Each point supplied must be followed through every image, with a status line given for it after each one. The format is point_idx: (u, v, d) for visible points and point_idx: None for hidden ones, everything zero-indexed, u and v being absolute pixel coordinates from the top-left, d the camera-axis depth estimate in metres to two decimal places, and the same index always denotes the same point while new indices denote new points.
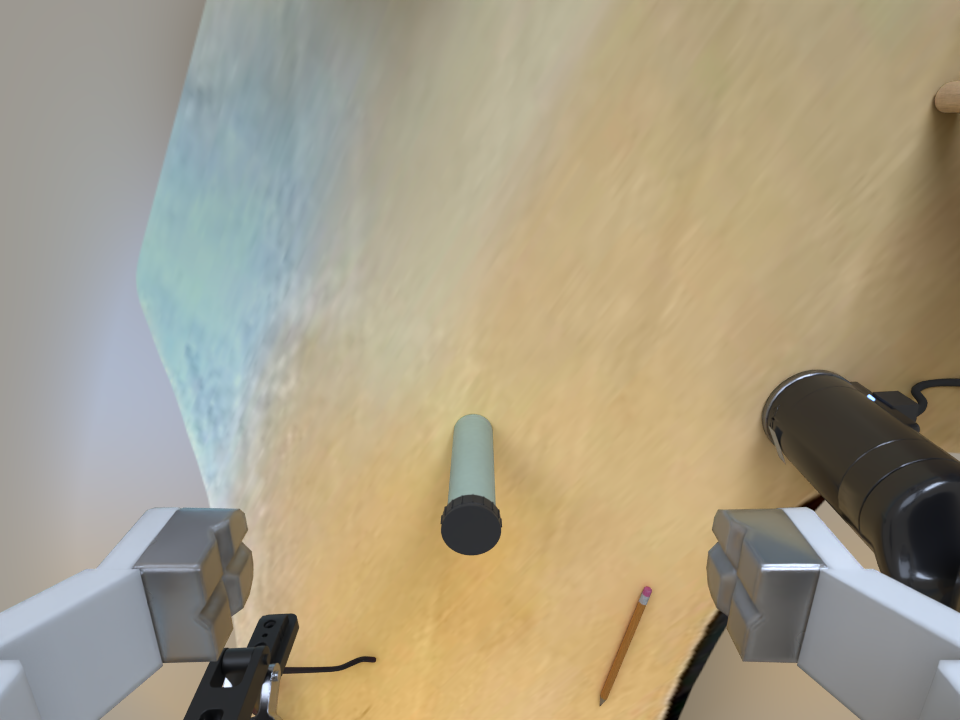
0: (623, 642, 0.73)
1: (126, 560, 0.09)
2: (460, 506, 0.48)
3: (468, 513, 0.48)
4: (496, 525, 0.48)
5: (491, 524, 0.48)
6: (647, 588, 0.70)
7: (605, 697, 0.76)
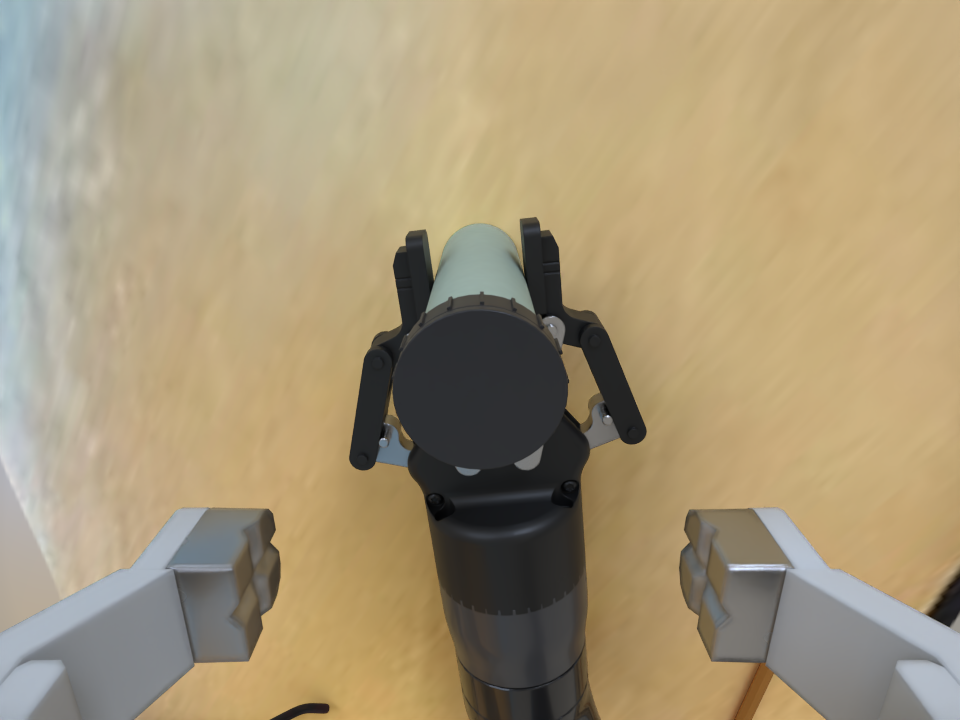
0: (764, 665, 0.41)
1: (159, 560, 0.09)
2: (445, 316, 0.16)
3: (470, 336, 0.16)
4: (554, 373, 0.16)
5: (539, 370, 0.16)
6: None
7: None
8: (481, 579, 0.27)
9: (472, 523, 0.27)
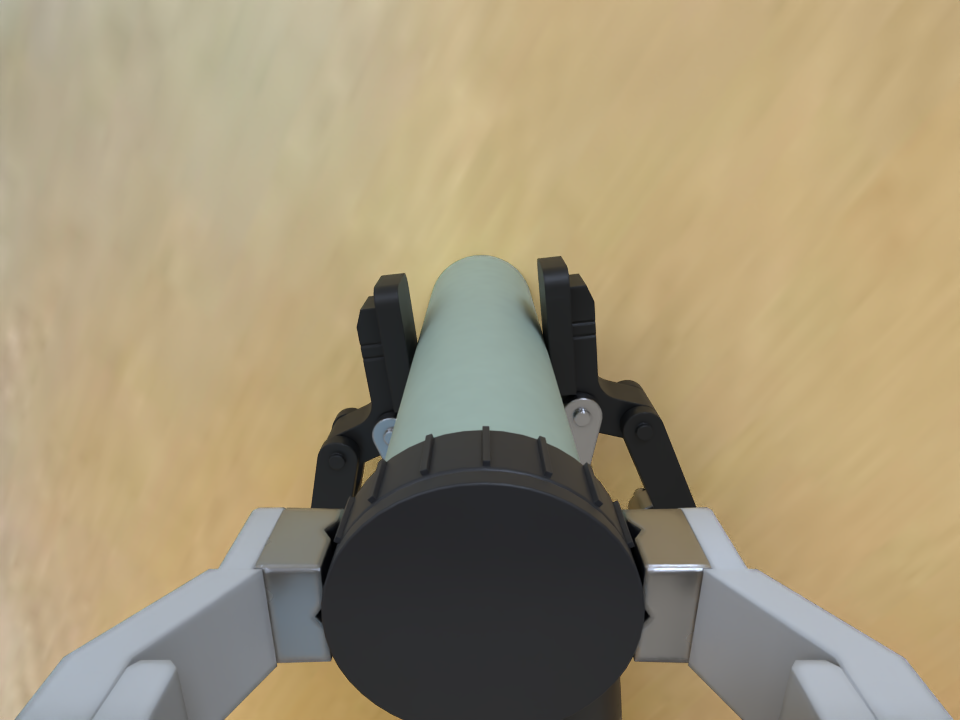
0: None
1: (246, 560, 0.09)
2: (416, 491, 0.08)
3: (463, 529, 0.08)
4: (621, 589, 0.09)
5: (593, 584, 0.09)
6: None
7: None
8: None
9: None
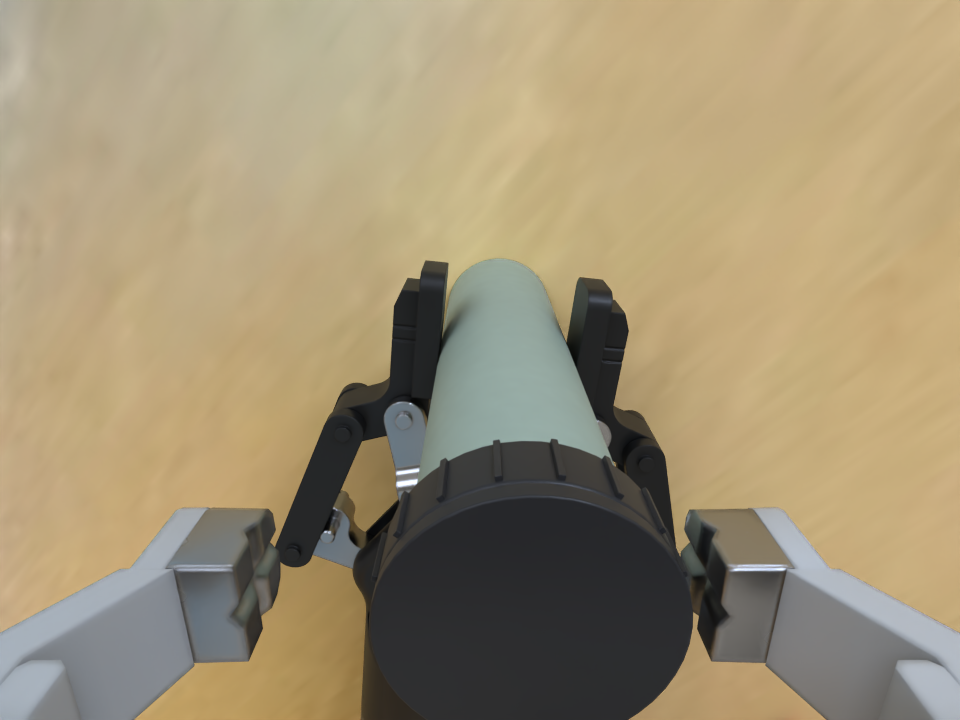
0: None
1: (159, 560, 0.09)
2: None
3: (426, 595, 0.09)
4: (582, 520, 0.08)
5: (559, 538, 0.08)
6: None
7: None
8: None
9: None
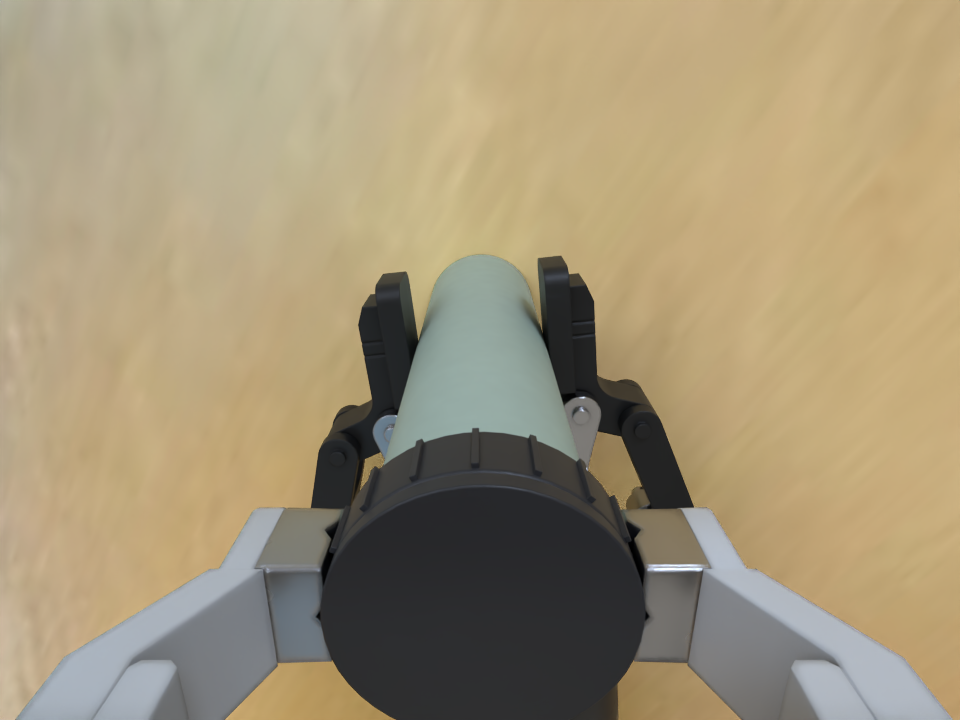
0: None
1: (247, 560, 0.09)
2: None
3: (369, 604, 0.09)
4: (498, 505, 0.08)
5: (481, 526, 0.08)
6: None
7: None
8: None
9: None
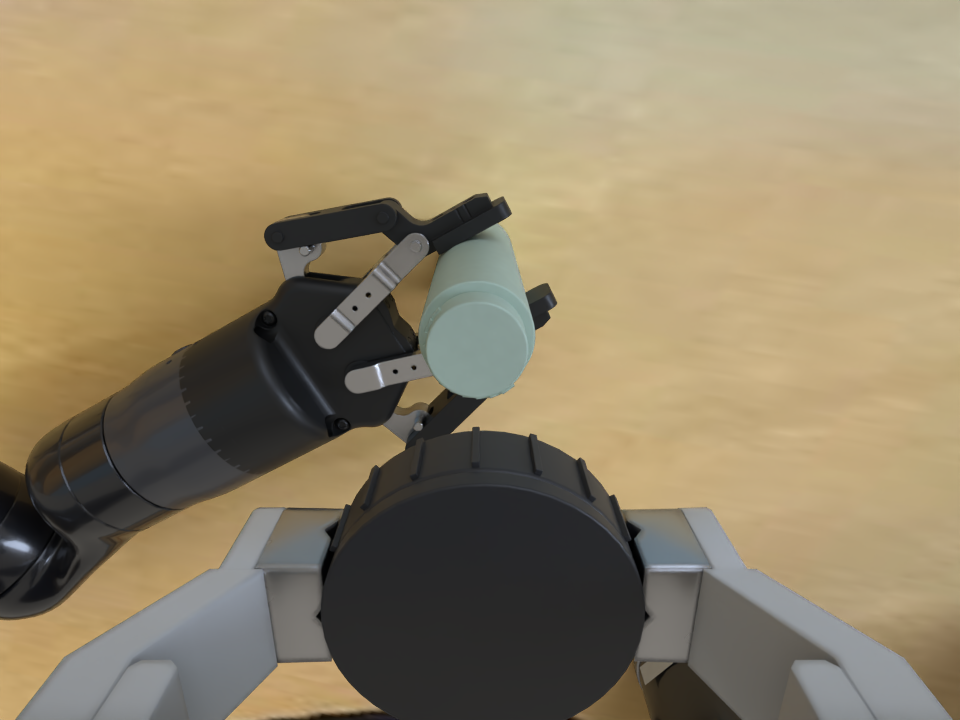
0: None
1: (247, 560, 0.09)
2: None
3: (369, 603, 0.09)
4: (499, 503, 0.08)
5: (481, 525, 0.08)
6: None
7: None
8: (225, 398, 0.27)
9: (275, 366, 0.28)
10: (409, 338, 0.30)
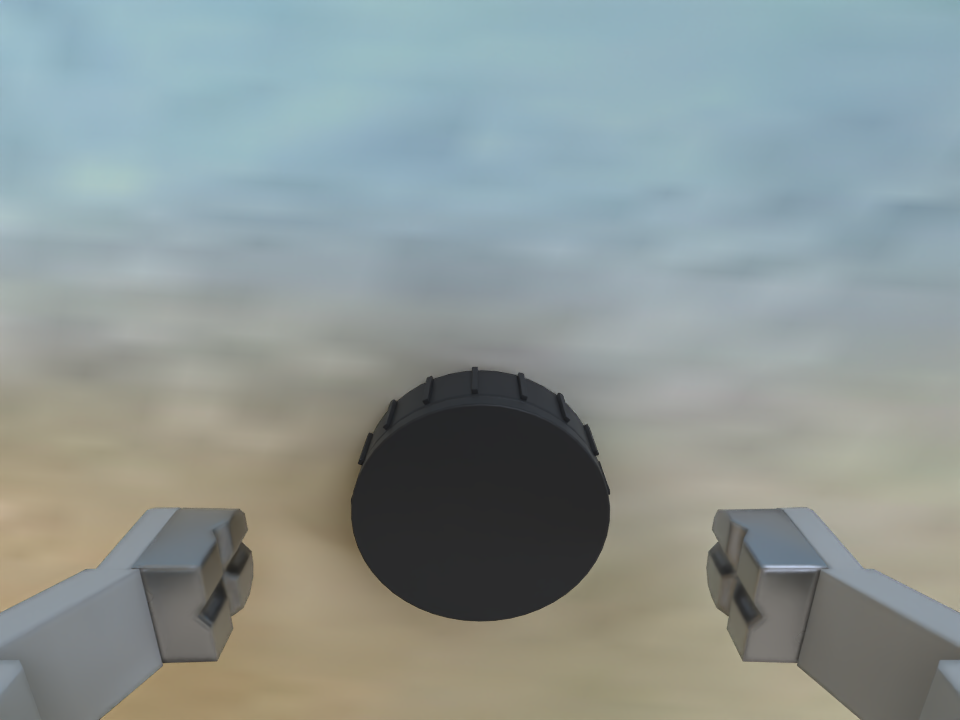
0: None
1: (126, 560, 0.09)
2: None
3: (390, 503, 0.11)
4: (493, 420, 0.10)
5: (479, 437, 0.11)
6: None
7: None
8: None
9: None
10: None
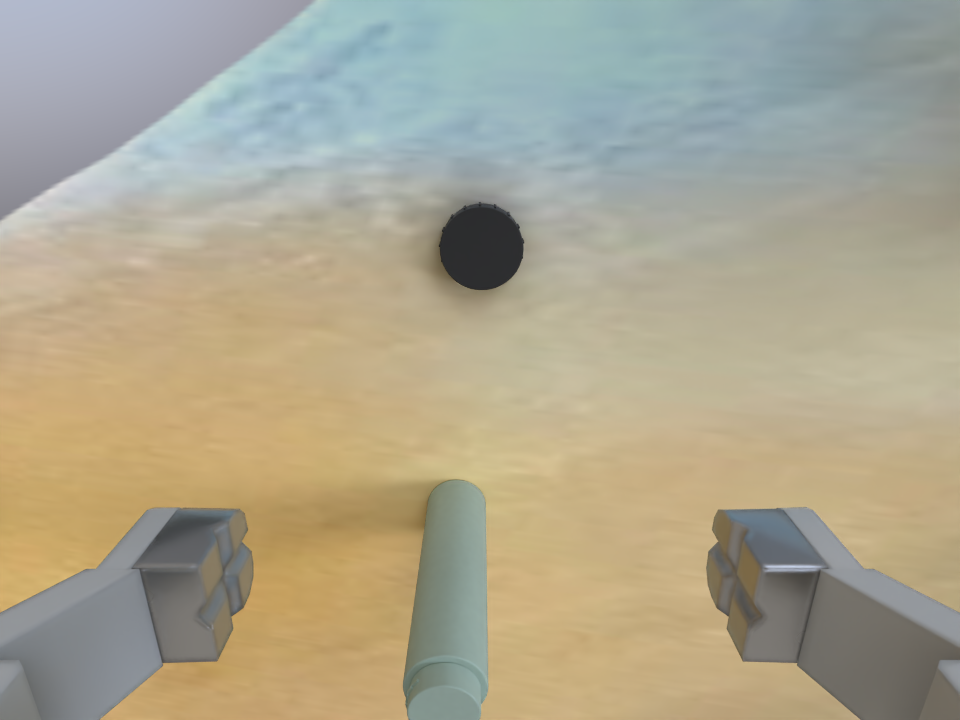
0: None
1: (126, 560, 0.09)
2: (440, 249, 0.35)
3: (453, 242, 0.35)
4: (485, 212, 0.34)
5: (481, 218, 0.34)
6: None
7: None
8: None
9: None
10: None
